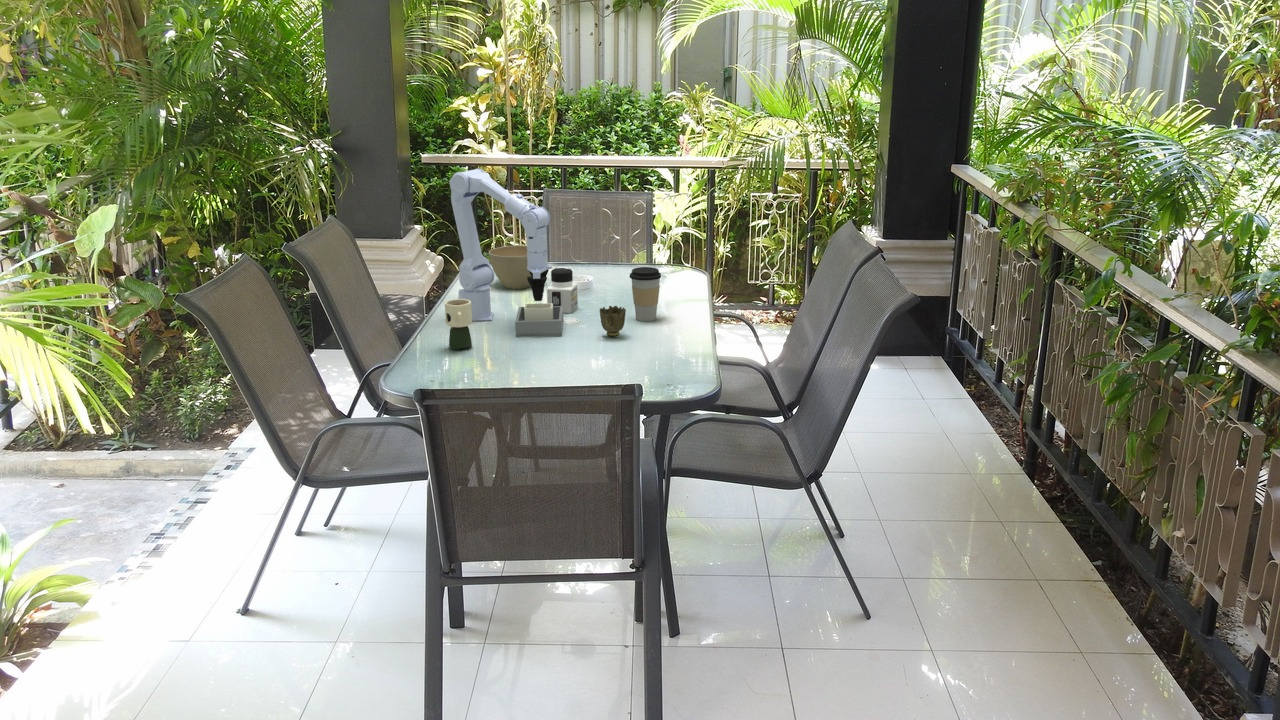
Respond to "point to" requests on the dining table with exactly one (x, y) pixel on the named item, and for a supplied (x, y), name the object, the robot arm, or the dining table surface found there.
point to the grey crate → (539, 324)
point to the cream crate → (538, 312)
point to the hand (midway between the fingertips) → (538, 297)
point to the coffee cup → (645, 292)
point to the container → (563, 290)
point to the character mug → (459, 322)
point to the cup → (612, 320)
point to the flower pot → (511, 266)
